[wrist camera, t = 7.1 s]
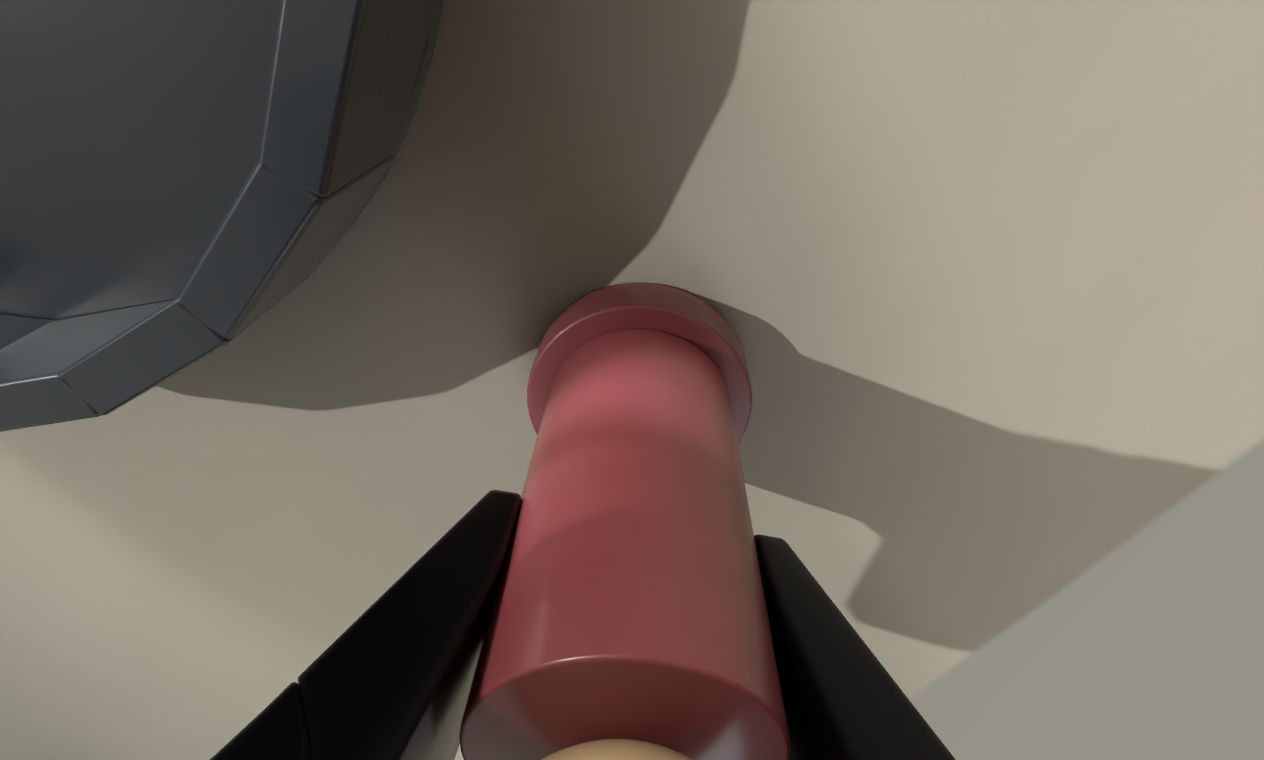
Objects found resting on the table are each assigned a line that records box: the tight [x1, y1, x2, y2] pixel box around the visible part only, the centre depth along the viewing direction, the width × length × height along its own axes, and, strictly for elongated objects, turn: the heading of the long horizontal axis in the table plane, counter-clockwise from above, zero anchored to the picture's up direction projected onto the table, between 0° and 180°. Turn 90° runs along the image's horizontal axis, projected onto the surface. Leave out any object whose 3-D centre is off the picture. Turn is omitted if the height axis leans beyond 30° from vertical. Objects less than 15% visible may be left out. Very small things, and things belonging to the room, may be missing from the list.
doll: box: [459, 283, 791, 760], centre depth 8 cm, size 4×4×10 cm
